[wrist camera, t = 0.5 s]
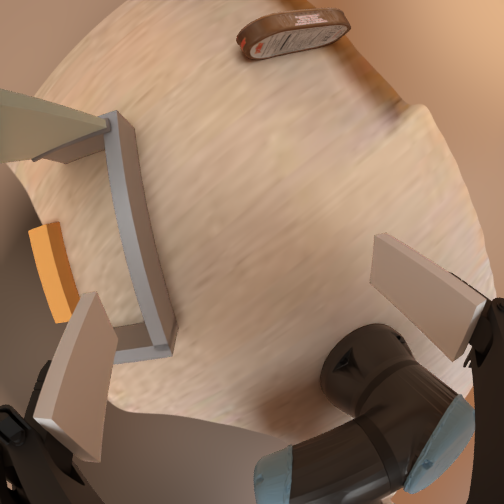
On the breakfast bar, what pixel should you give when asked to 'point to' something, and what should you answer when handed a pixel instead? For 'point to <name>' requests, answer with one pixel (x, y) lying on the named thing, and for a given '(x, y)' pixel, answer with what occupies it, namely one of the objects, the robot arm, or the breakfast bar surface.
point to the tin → (292, 32)
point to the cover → (42, 127)
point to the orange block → (54, 270)
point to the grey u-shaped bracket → (132, 242)
